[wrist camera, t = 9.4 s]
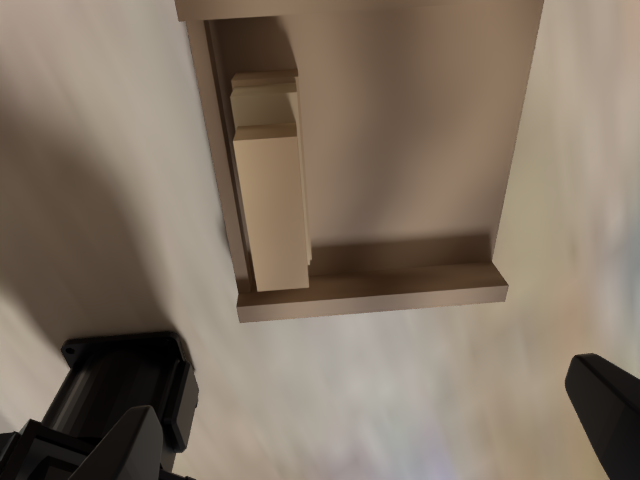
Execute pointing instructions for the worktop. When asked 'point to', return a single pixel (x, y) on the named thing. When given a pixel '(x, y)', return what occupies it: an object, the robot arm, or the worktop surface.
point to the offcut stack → (272, 176)
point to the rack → (377, 141)
